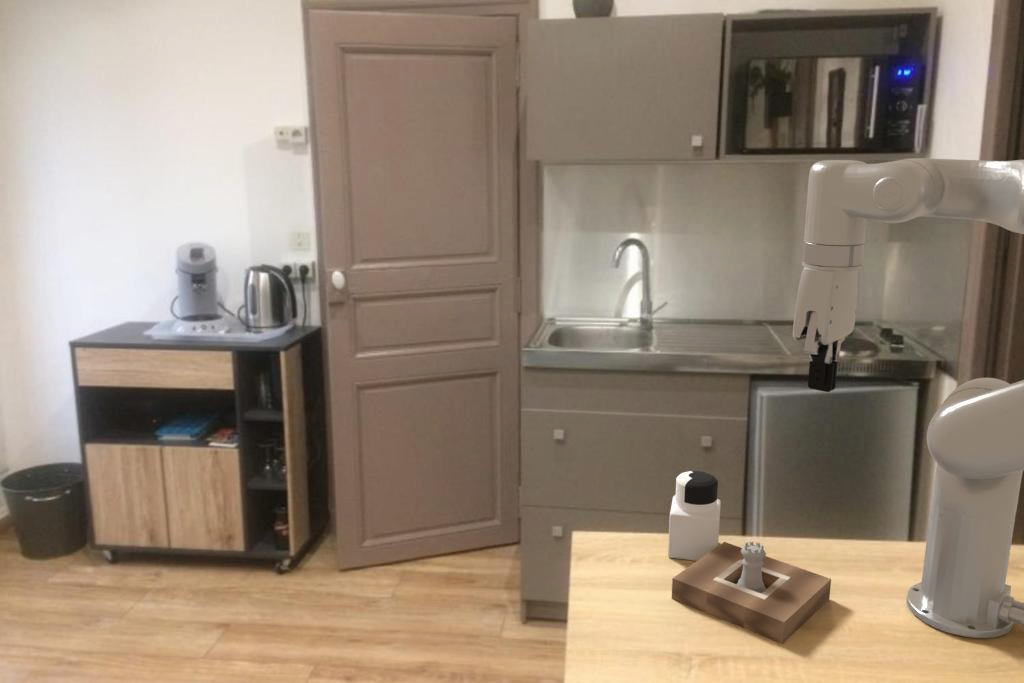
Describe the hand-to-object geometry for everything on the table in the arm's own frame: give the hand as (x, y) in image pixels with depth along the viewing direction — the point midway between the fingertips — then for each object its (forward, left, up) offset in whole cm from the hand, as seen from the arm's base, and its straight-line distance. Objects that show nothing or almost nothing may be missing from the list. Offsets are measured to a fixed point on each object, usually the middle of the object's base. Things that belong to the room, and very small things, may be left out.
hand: (821, 388), depth 121 cm
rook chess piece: (+2, +13, -27) cm, 30 cm away
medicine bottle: (+15, +6, -27) cm, 32 cm away
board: (+2, +13, -27) cm, 30 cm away
